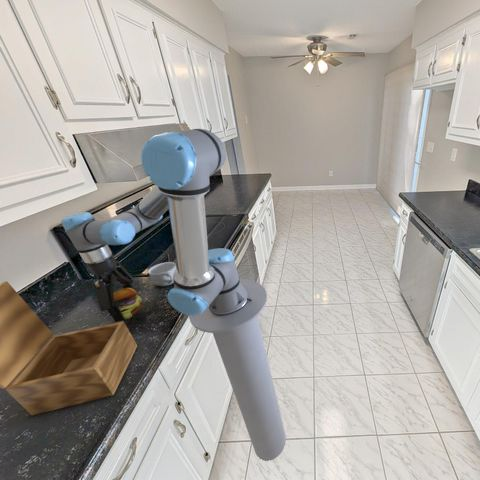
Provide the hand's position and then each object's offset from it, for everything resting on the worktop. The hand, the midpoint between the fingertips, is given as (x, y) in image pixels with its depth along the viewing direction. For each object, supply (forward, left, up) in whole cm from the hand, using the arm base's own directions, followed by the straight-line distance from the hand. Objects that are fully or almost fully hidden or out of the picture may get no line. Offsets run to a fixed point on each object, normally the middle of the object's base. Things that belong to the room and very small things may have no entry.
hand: (127, 308), depth 94 cm
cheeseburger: (0, 0, -1) cm, 1 cm away
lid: (+12, +24, +17) cm, 32 cm away
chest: (+2, +24, -5) cm, 24 cm away
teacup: (-8, -20, -5) cm, 22 cm away
